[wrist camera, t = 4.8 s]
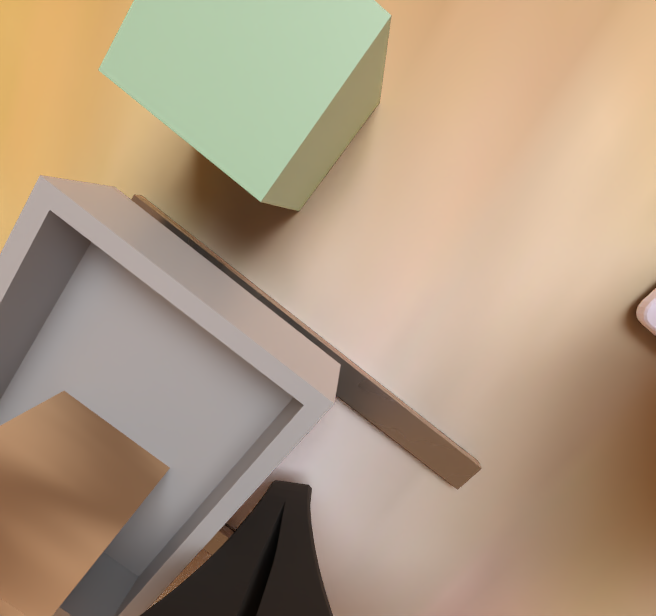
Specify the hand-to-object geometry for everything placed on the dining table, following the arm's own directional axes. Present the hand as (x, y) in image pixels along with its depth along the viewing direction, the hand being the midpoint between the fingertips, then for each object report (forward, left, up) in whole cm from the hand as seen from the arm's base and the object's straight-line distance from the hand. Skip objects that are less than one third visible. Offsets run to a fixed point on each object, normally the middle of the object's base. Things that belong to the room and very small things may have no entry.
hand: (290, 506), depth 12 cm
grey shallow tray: (+6, 0, -1) cm, 6 cm away
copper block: (+6, +2, +1) cm, 7 cm away
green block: (+8, -10, -2) cm, 13 cm away
